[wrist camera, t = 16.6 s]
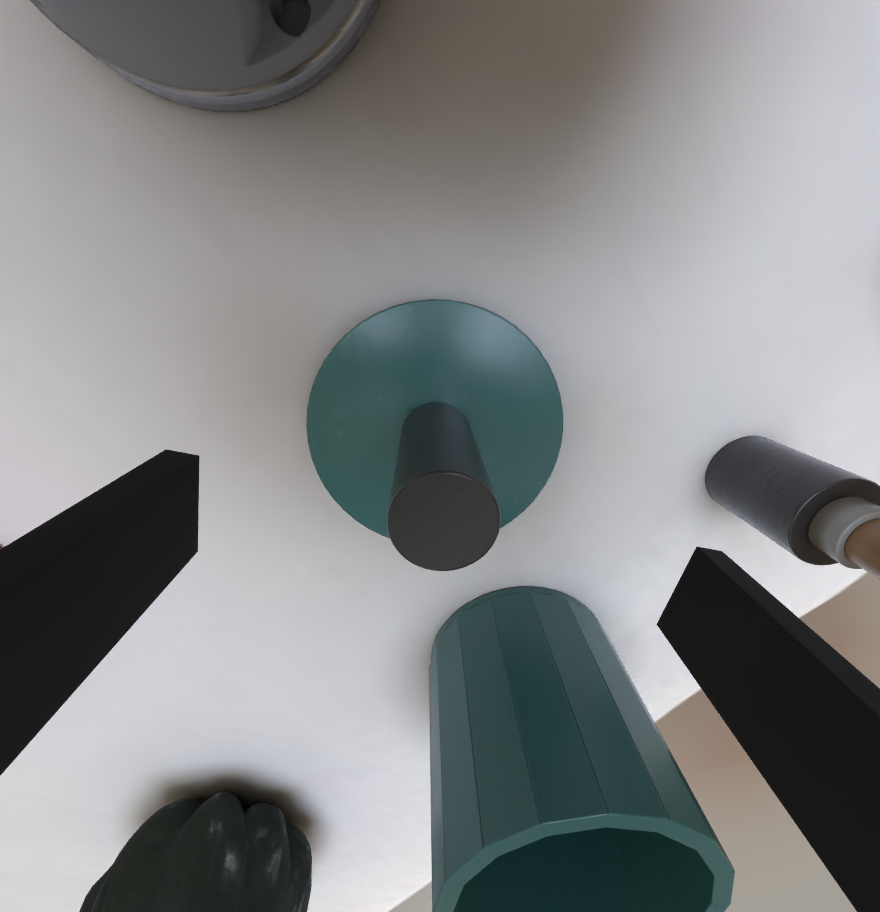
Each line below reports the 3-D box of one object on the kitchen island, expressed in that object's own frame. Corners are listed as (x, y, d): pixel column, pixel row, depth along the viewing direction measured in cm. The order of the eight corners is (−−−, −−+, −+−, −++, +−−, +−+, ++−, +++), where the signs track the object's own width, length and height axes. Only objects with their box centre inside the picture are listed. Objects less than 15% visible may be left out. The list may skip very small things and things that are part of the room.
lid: (300, 514, 24) (218, 654, 15) (328, 270, 20) (239, 244, 10) (518, 551, 26) (574, 701, 16) (590, 332, 21) (727, 359, 12)
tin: (414, 710, 30) (409, 976, 18) (452, 572, 26) (476, 800, 14) (572, 729, 31) (661, 990, 19) (631, 602, 27) (789, 833, 15)
